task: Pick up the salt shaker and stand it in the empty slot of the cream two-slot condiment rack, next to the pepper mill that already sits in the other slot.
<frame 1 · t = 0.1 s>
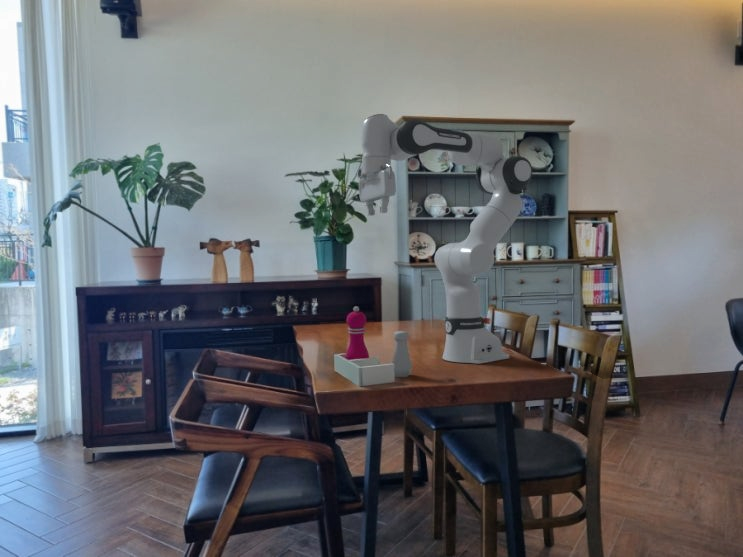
hand: (377, 214, 153), 48 cm above the table, tool pointing down, fingers open, 8 cm apart
salt shaker: (401, 376, 145), on the table
pepper mill: (357, 373, 150), resting in condiment rack
condiment rack: (363, 375, 146), on the table
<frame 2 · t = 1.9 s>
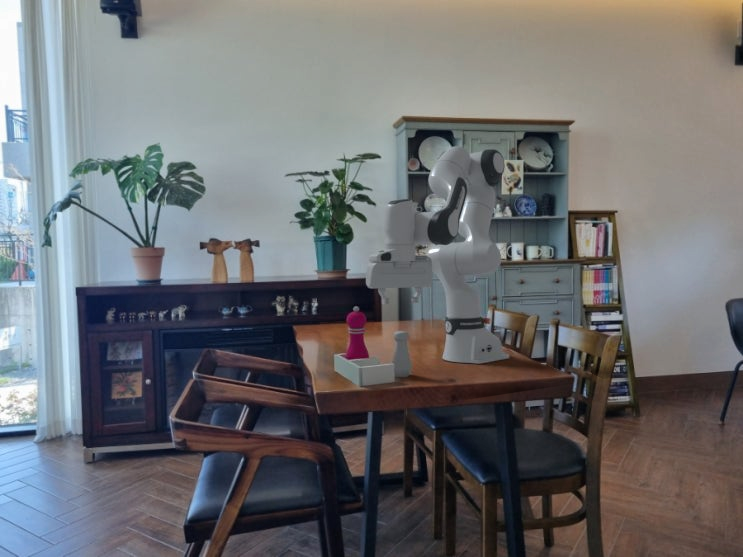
hand: (400, 303, 144), 21 cm above the table, tool pointing down, fingers open, 8 cm apart
nothing on the table moved.
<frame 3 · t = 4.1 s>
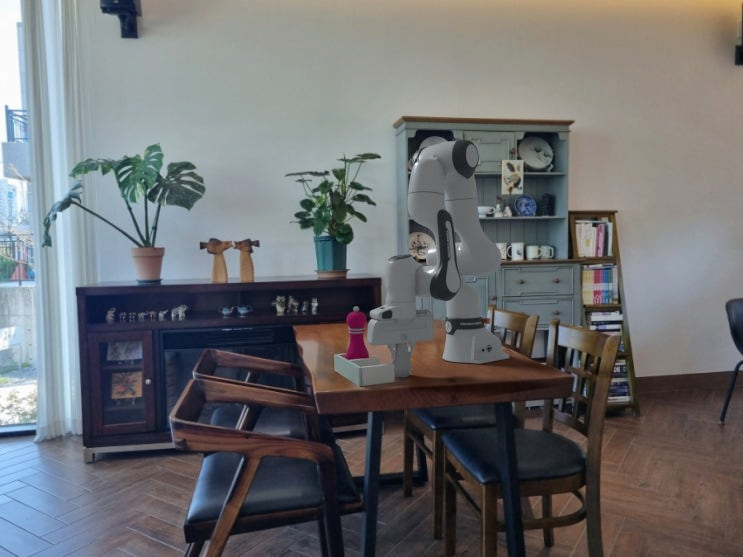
hand: (401, 358, 145), 5 cm above the table, tool pointing down, fingers closed on salt shaker, 3 cm apart
salt shaker: (401, 376, 145), on the table, touching gripper
everything else where it was.
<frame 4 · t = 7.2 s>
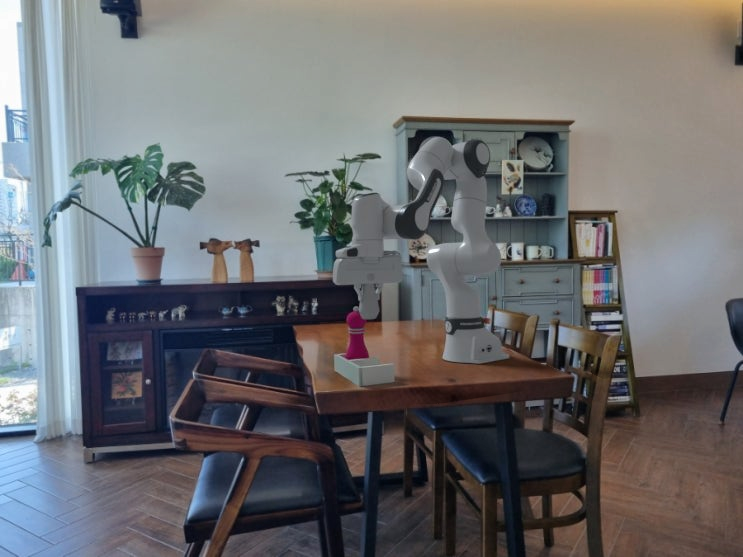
hand: (368, 300, 140), 23 cm above the table, tool pointing down, fingers closed on salt shaker, 3 cm apart
salt shaker: (369, 319, 140), point 17 cm above the table, touching gripper
everything else where it was.
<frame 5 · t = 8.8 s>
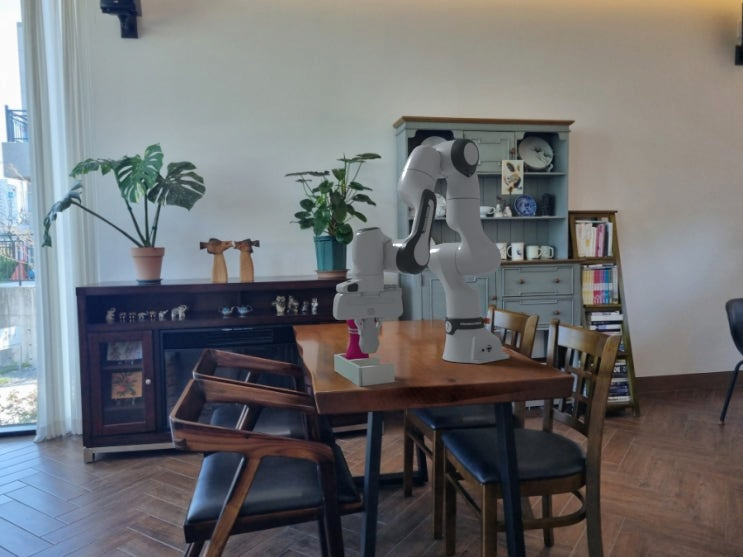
hand: (369, 334, 141), 13 cm above the table, tool pointing down, fingers closed on salt shaker, 3 cm apart
salt shaker: (369, 353, 141), point 8 cm above the table, touching gripper
everything else where it was.
when the fingers open (7 cm above the table, at t = 10.4 s): salt shaker drops 1 cm, resting in condiment rack.
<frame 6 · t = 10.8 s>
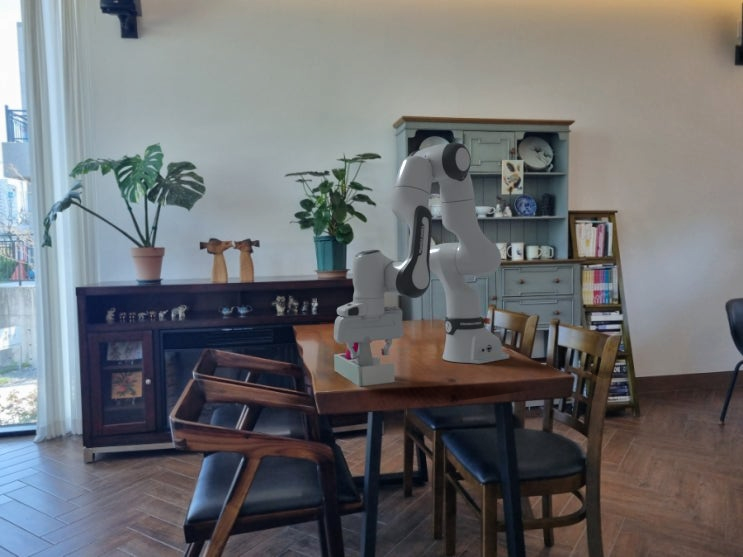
hand: (369, 356, 141), 7 cm above the table, tool pointing down, fingers open, 8 cm apart
salt shaker: (365, 380, 141), resting in condiment rack
everything else where it was.
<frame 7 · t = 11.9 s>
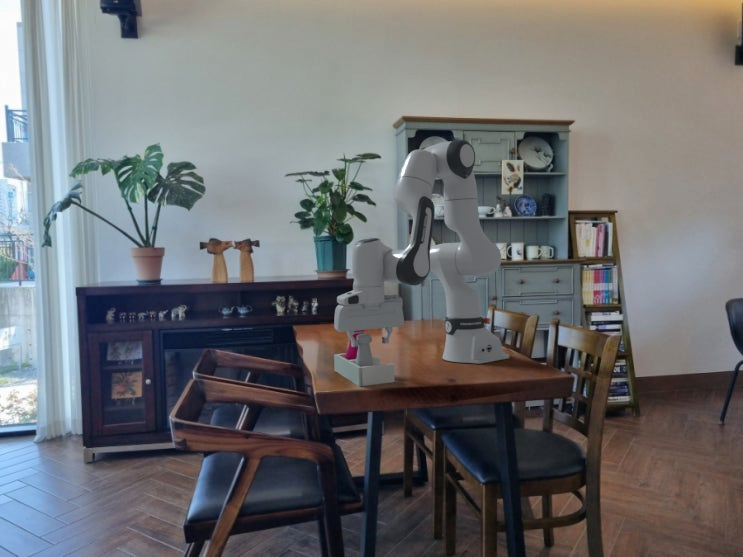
hand: (370, 344, 141), 10 cm above the table, tool pointing down, fingers open, 8 cm apart
salt shaker: (365, 380, 141), resting in condiment rack, touching gripper
everything else where it was.
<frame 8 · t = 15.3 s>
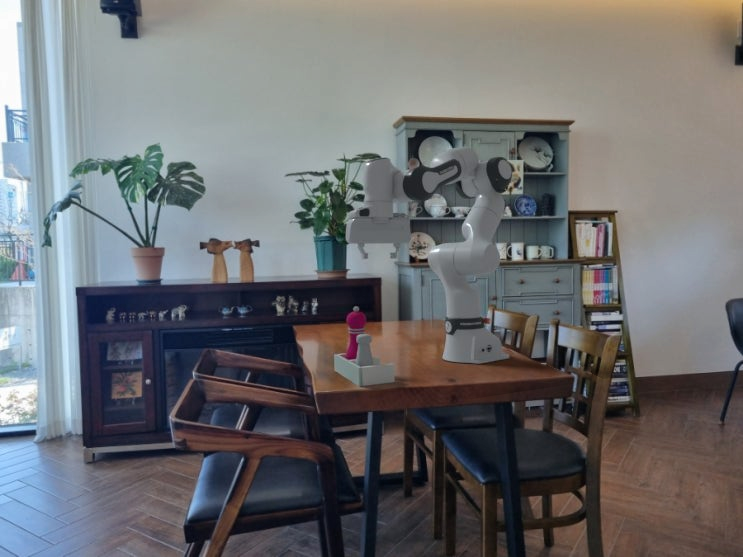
hand: (379, 258, 150), 34 cm above the table, tool pointing down, fingers open, 8 cm apart
salt shaker: (365, 380, 141), resting in condiment rack
everything else where it was.
at the end: salt shaker 1.5 cm from the target spot, resting in condiment rack; salt shaker tilted 0°; pepper mill moved 0.2 cm from its start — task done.
